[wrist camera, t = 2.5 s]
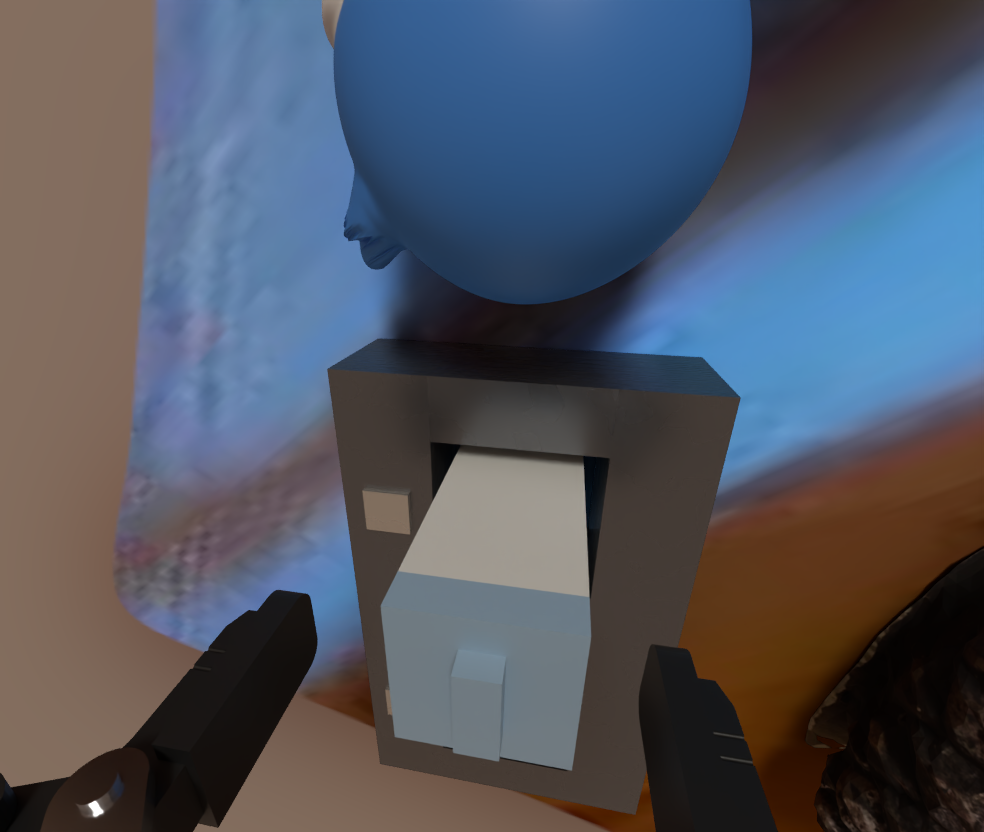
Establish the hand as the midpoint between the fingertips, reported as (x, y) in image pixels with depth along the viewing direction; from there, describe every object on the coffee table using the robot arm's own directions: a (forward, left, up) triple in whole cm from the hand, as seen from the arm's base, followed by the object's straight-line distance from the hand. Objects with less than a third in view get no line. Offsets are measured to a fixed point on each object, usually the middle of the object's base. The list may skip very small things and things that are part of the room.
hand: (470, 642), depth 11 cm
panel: (0, +5, -9) cm, 10 cm away
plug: (0, 0, -9) cm, 9 cm away
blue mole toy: (+1, -13, -9) cm, 16 cm away
